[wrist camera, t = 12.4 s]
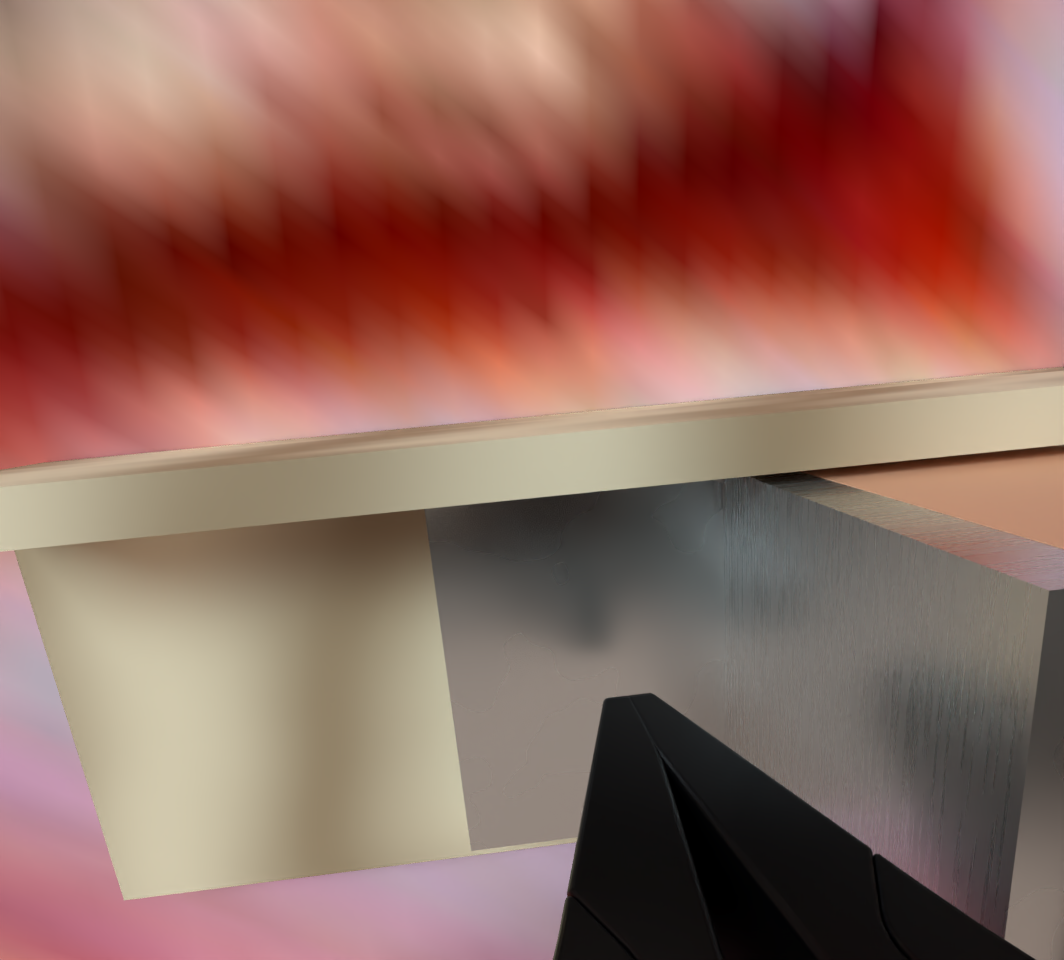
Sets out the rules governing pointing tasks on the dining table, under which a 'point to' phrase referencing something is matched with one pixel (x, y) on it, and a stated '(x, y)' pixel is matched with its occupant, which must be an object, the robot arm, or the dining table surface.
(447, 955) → the dining table surface
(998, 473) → the terracotta book
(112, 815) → the beige piece
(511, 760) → the bookend
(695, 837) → the robot arm
